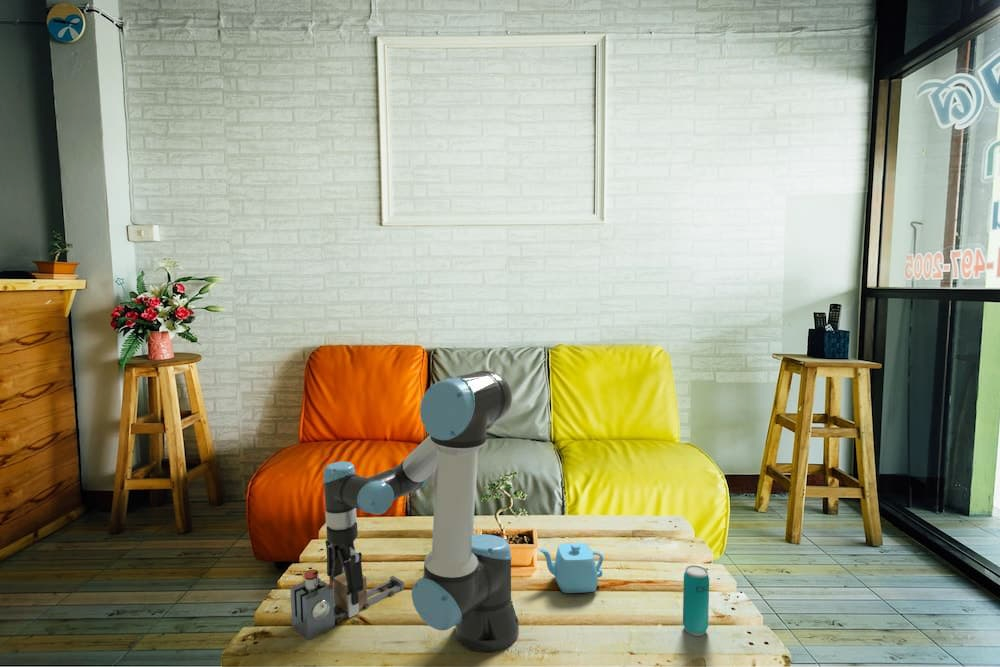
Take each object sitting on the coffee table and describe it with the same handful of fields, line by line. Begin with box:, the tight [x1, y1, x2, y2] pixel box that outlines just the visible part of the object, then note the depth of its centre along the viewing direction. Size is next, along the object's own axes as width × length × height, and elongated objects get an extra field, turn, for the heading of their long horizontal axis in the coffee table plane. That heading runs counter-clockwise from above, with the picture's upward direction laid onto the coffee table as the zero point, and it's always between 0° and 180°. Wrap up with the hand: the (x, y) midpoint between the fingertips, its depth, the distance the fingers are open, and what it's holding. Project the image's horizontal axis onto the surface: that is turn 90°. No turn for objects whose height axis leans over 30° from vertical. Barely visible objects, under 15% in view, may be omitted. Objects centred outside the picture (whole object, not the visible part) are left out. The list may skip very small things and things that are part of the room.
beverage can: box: [682, 565, 710, 637], centre depth 136 cm, size 6×6×15 cm
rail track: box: [294, 575, 405, 637], centre depth 147 cm, size 6×29×2 cm, turn 136°
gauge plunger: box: [303, 569, 319, 595], centre depth 139 cm, size 3×3×7 cm
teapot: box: [538, 542, 604, 594], centre depth 157 cm, size 12×18×12 cm
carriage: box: [333, 573, 368, 612], centre depth 147 cm, size 6×6×7 cm
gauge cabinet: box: [289, 576, 336, 641], centre depth 139 cm, size 8×7×10 cm
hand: (346, 609), depth 146 cm, fingers open, 6 cm apart
